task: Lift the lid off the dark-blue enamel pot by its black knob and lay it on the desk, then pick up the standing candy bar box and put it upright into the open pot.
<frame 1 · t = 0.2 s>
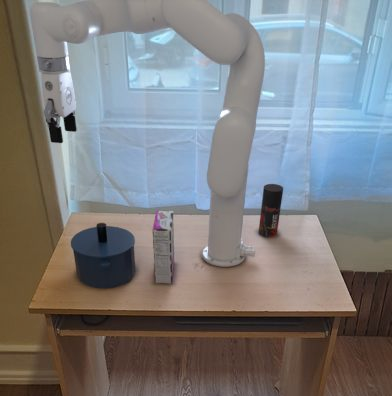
hand: (64, 136, 133), 31 cm above the table, tool pointing down, fingers open, 9 cm apart
candy bar box: (164, 274, 140), on the table
pot lid: (103, 242, 133), point 9 cm above the table, touching pot
pot: (106, 272, 139), on the table
deodorant: (267, 233, 160), on the table
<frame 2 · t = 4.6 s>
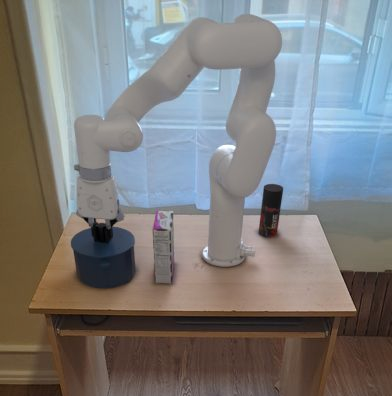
hand: (102, 239, 133), 10 cm above the table, tool pointing down, fingers closed on pot lid, 2 cm apart
pot lid: (103, 242, 133), point 10 cm above the table, touching gripper, pot
everything else where it was.
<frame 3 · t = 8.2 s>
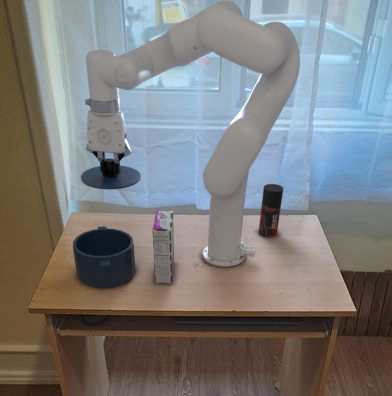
hand: (110, 174, 142), 20 cm above the table, tool pointing down, fingers closed on pot lid, 2 cm apart
pot lid: (111, 177, 142), point 19 cm above the table, touching gripper
everything else where it was.
when the fingers open (1 cm above the table, at t = 11.8 s): pot lid stays where it is, point 1 cm above the table.
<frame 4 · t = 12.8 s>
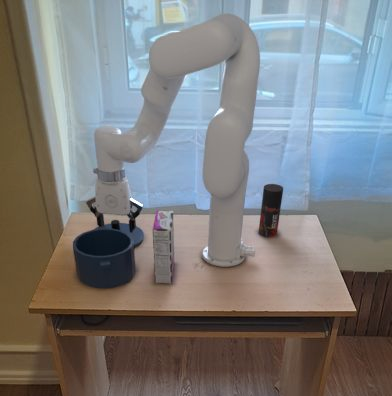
hand: (117, 229, 153), 3 cm above the table, tool pointing down, fingers open, 9 cm apart
pot lid: (116, 236, 154), point 1 cm above the table
everything else where it was.
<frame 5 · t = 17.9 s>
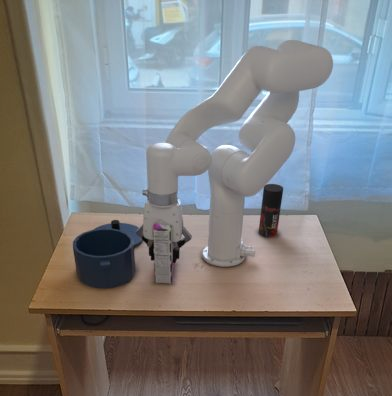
hand: (164, 258, 137), 5 cm above the table, tool pointing down, fingers closed on candy bar box, 5 cm apart
candy bar box: (164, 274, 140), on the table, touching gripper
everything else where it was.
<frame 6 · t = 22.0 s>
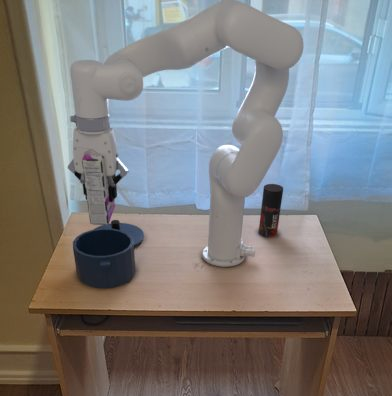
hand: (100, 198, 125), 22 cm above the table, tool pointing down, fingers closed on candy bar box, 5 cm apart
candy bar box: (102, 216, 128), point 17 cm above the table, touching gripper
everything else where it was.
when the fingers open (5 cm above the table, at t = 26.2 s): candy bar box stays where it is, resting on pot.
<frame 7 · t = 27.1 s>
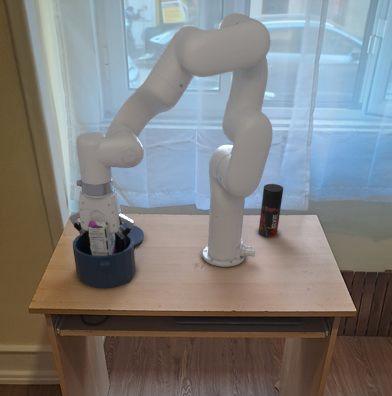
hand: (105, 248, 134), 8 cm above the table, tool pointing down, fingers open, 9 cm apart
candy bar box: (106, 271, 139), resting on pot
everything else where it was.
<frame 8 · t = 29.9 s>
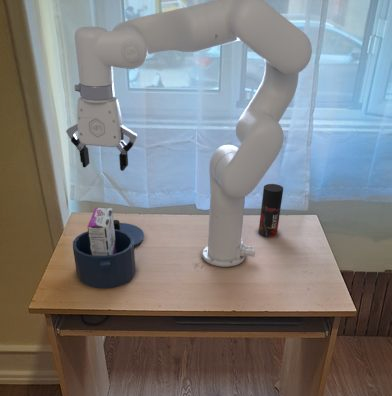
hand: (104, 167, 124), 28 cm above the table, tool pointing down, fingers open, 9 cm apart
nothing on the table moved.
at the end: pot lid inside the target area (0.1 cm from its centre), point 0.6 cm above the table; candy bar box inside the target area in the pot (0.0 cm from its centre), point 0.3 cm above the pot's base; candy bar box tilted 0° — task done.
